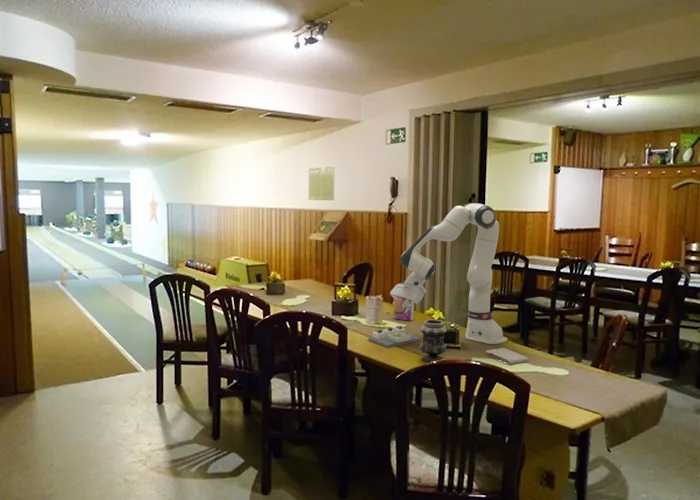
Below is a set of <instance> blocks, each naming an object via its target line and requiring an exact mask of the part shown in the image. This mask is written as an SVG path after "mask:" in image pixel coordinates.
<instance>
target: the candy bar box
mask: <svg viewBox="0 0 700 500" xmlns="http://www.w3.org/2000/svg"><path fill="white" fill-rule="evenodd" d="M404 302H405V301H404ZM414 308H415V303H412V302H410V303H409V304H408V305H406V306H405V307H404V316H403V317H395V316H394V320H399V321H400V320H401V321H405V322H412V321H413V320H414V319H415V318H414V317H415V316H414V315H415V312H414V310H415V309H414Z"/></svg>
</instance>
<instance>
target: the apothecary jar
mask: <svg viewBox="0 0 700 500" xmlns="http://www.w3.org/2000/svg"><path fill="white" fill-rule="evenodd" d="M447 331H448V329H447V328H446V326H445V325H444V321H442V320H440V319H432V318H431V319H425V320H424V324H423V325H421V327H420V332H421V334H422V336H423V337H422V342H421V343H420V345H419V349H420V351H421V352H422V353H424V354H426V355H424V356H422V357H421V360H422V361H424V362H427V363H431V361H436V360H441V359H444V357H443V356H441V355H442V354H444V353H445V352H446V351H447V345H446V344H445V343H444V342H445V341H444V340H445V335H446V333H447Z"/></svg>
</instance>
